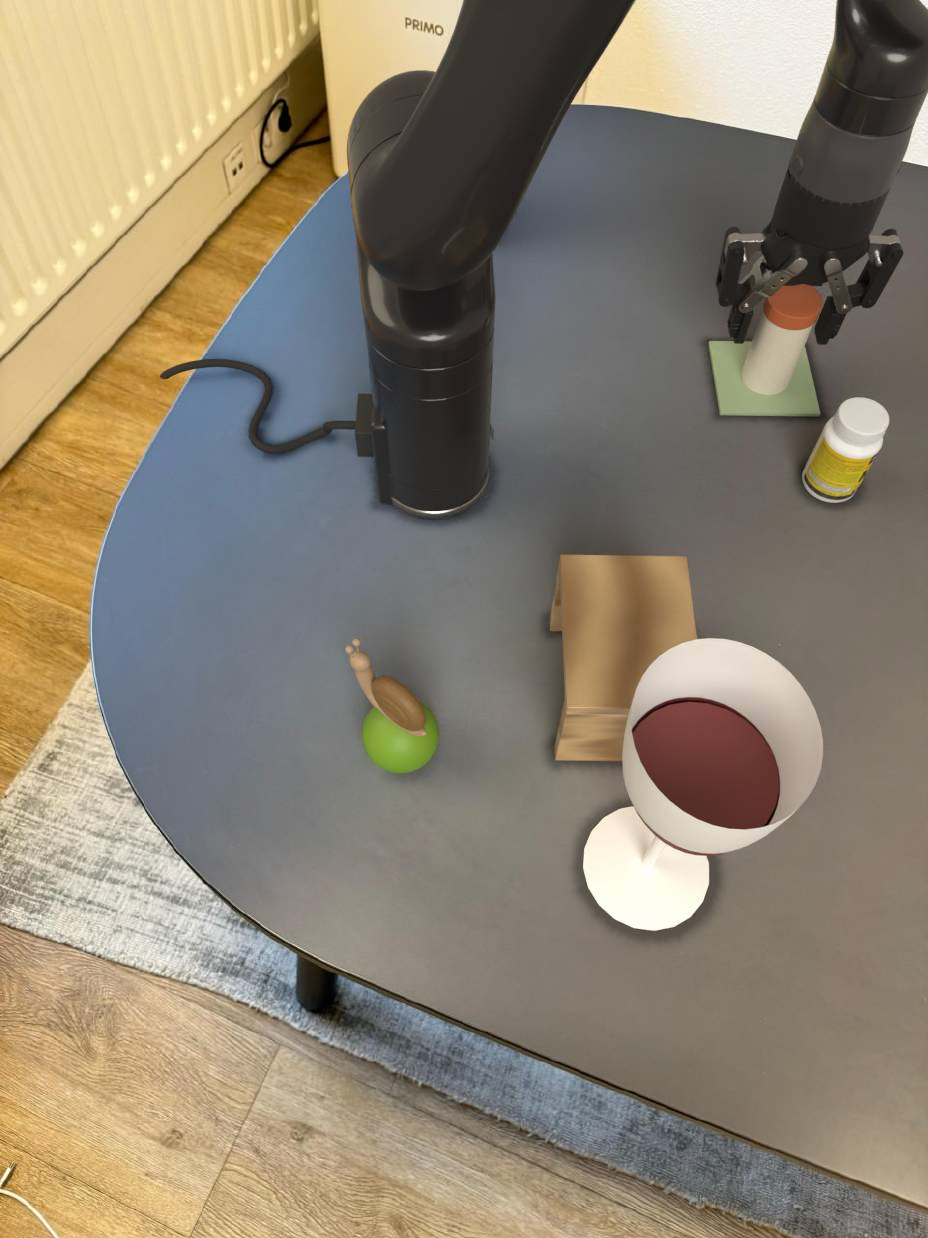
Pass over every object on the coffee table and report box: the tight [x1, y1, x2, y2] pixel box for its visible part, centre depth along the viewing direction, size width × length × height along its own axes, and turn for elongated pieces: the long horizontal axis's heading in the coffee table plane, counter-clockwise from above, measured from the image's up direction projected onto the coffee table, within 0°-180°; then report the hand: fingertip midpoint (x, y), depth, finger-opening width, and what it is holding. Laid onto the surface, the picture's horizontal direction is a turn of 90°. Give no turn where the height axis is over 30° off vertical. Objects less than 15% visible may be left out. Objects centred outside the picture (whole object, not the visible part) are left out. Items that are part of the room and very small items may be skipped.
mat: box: [707, 340, 821, 418], centre depth 89 cm, size 9×9×1 cm
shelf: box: [549, 554, 698, 762], centre depth 69 cm, size 9×12×9 cm
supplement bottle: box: [801, 396, 890, 504], centre depth 80 cm, size 5×5×8 cm
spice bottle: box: [741, 284, 824, 395], centre depth 85 cm, size 5×5×9 cm
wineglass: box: [582, 637, 824, 932], centre depth 57 cm, size 9×10×23 cm
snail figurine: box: [344, 637, 440, 774], centre depth 66 cm, size 5×6×12 cm
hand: (778, 337), depth 85 cm, fingers open, 6 cm apart
